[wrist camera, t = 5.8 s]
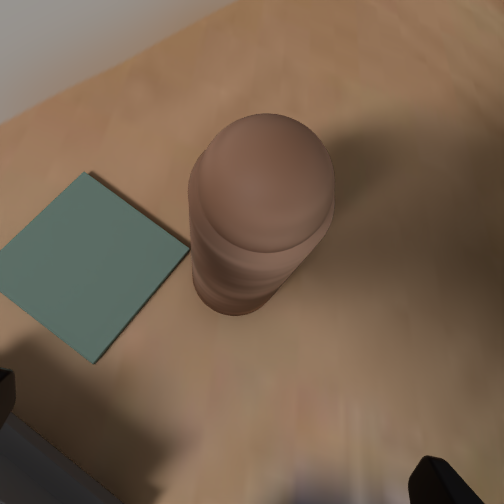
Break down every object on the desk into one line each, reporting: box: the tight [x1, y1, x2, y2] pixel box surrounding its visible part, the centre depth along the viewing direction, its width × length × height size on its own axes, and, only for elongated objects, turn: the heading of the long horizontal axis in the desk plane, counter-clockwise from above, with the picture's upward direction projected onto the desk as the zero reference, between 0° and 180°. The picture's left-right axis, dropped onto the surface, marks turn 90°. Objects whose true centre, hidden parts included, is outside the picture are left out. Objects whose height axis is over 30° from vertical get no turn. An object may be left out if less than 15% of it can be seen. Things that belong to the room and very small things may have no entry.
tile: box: [0, 172, 190, 364], centre depth 22 cm, size 8×8×1 cm
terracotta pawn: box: [188, 114, 335, 316], centre depth 17 cm, size 5×5×13 cm
